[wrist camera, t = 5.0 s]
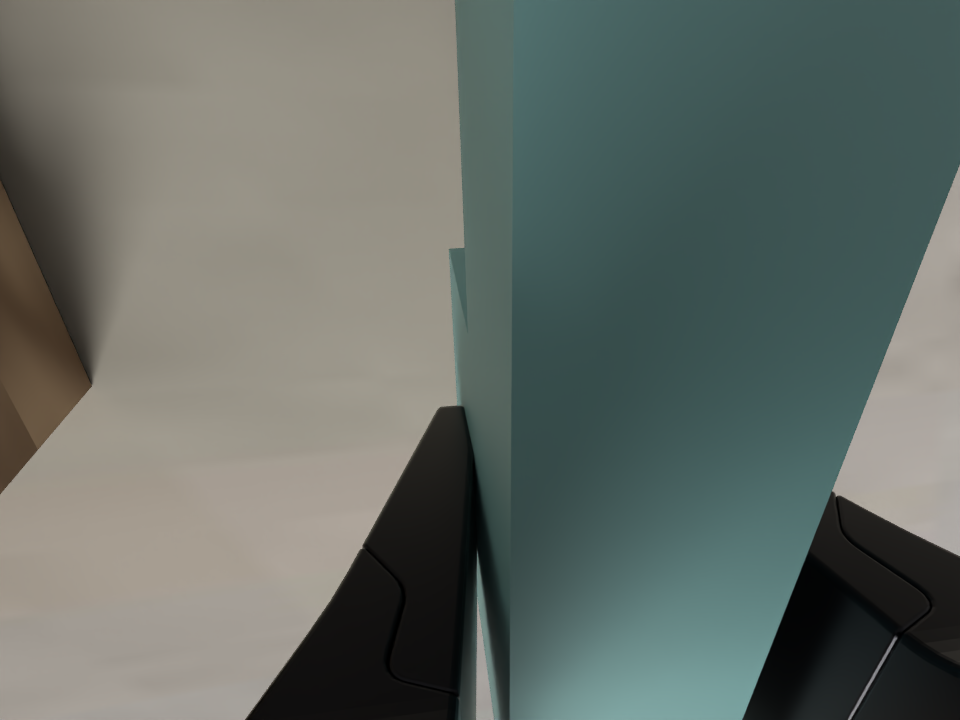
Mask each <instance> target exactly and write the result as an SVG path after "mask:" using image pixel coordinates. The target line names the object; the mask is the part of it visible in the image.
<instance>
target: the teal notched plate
mask: <svg viewBox="0 0 960 720" xmlns="http://www.w3.org/2000/svg"><path fill="white" fill-rule="evenodd" d="M455 10H456V36H457V62H458V88H459V114H460V139H461V165H462V191H463V217H464V243H465V248H456V249H449V259H450V278H451V297H452V315H453V334H454V353H455V372H456V390H457V406H458V405H461V406H463V407H464V410H465V415H466V419H467V424H468V429H469V433H470V438H471V443H472V448H473V454H474V477H475V504H476V531H477V597H478V605H479V612H480V619H481V627H482V634H483V641H484V648H485V656H486V663H487V670H488V678H489V685H490V692H491V700H492V707H493V714H494V720H742V719H743V716H744V714H745V711H746V709H747V706H748V704H749V701H750V699H751V696H752V693H753V691H754V688H755V686H756V683H757V681H758V678H759V676H760V673H761V670H762V668H763V665H764V663H765V660H766V658H767V655H768V653H769V650H770V647H771V645H772V642H773V640H774V637H775V635H776V632H777V630H778V627H779V624H780V622H781V619H782V617H783V614H784V612H785V609H786V607H787V604H788V602H789V599H790V596H791V594H792V591H793V589H794V586H795V584H796V581H797V579H798V576H799V573H800V571H801V568H802V566H803V563H804V561H805V558H806V556H807V553H808V550H809V548H810V545H811V543H812V540H813V538H814V535H815V533H816V530H817V527H818V525H819V522H820V520H821V517H822V515H823V512H824V510H825V507H826V504H827V502H828V499H829V497H830V494H831V492H832V489H833V487H834V484H835V481H836V479H837V476H838V474H839V471H840V469H841V466H842V464H843V461H844V459H845V456H846V453H847V451H848V448H849V446H850V443H851V441H852V438H853V436H854V433H855V430H856V428H857V425H858V423H859V420H860V418H861V415H862V413H863V410H864V407H865V405H866V402H867V400H868V397H869V395H870V392H871V390H872V387H873V384H874V382H875V379H876V377H877V374H878V372H879V369H880V367H881V364H882V361H883V359H884V356H885V354H886V351H887V349H888V346H889V344H890V341H891V338H892V336H893V333H894V331H895V328H896V326H897V323H898V321H899V318H900V316H901V313H902V310H903V308H904V305H905V303H906V300H907V298H908V295H909V293H910V290H911V287H912V285H913V282H914V280H915V277H916V275H917V272H918V270H919V267H920V264H921V262H922V259H923V257H924V254H925V252H926V249H927V247H928V244H929V241H930V239H931V236H932V234H933V231H934V229H935V226H936V224H937V221H938V218H939V216H940V213H941V211H942V208H943V206H944V203H945V201H946V198H947V196H948V193H949V190H950V188H951V185H952V183H953V180H954V178H955V175H956V173H957V170H958V167H959V165H960V0H455Z"/></svg>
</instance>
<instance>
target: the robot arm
mask: <svg viewBox="0 0 960 720" xmlns="http://www.w3.org/2000/svg"><path fill="white" fill-rule="evenodd" d="M476 652H477V531H476V504H475V477H474V454H473V448H472V443H471V438H470V433H469V429H468V424H467V419H466V415H465V410H464V407H463V406H461V405H458V406H446V407H440V408H439V409H438V410H437V411H436V413H435V415H434V417H433V419H432V421H431V422H430V424H429V426H428V428H427V430H426V431H425V433H424V435H423V437H422V439H421V440H420V442H419V444H418V446H417V448H416V450H415V451H414V453H413V455H412V457H411V459H410V460H409V462H408V464H407V466H406V468H405V469H404V471H403V473H402V475H401V477H400V479H399V480H398V482H397V484H396V486H395V488H394V489H393V491H392V493H391V495H390V497H389V499H388V500H387V502H386V504H385V506H384V508H383V509H382V511H381V513H380V515H379V517H378V518H377V520H376V522H375V524H374V526H373V528H372V529H371V531H370V533H369V535H368V537H367V538H366V540H365V542H364V544H363V549H361V550H360V551H359V552H358V554H357V556H356V558H355V560H354V562H353V563H352V565H351V567H350V569H349V571H348V572H347V574H346V576H345V577H344V579H343V581H342V582H341V584H340V586H339V587H338V589H337V591H336V592H335V594H334V596H333V597H332V599H331V601H330V602H329V604H328V605H327V606H326V608H325V609H324V611H323V612H322V614H321V615H320V617H319V618H318V619H317V621H316V622H315V624H314V625H313V627H312V628H311V630H310V631H309V633H308V634H307V635H306V637H305V638H304V640H303V641H302V642H301V644H300V645H299V646H298V648H297V649H296V650H295V652H294V653H293V655H292V656H291V657H290V659H289V660H288V661H287V663H286V664H285V666H284V667H283V668H282V670H281V671H280V672H279V674H278V675H277V677H276V678H275V679H274V681H273V682H272V683H271V685H270V686H269V688H268V689H267V690H266V692H265V693H264V694H263V696H262V697H261V699H260V700H259V701H258V703H257V704H256V705H255V707H254V708H253V709H252V711H251V712H250V714H249V715H248V716H247V718H246V719H245V720H476ZM742 720H960V556H958V555H956V554H954V553H952V552H950V551H948V550H945V549H943V548H941V547H939V546H937V545H935V544H933V543H931V542H929V541H927V540H925V539H923V538H921V537H919V536H916V535H914V534H912V533H910V532H908V531H906V530H904V529H902V528H900V527H898V526H897V525H895V524H893V523H891V522H889V521H887V520H885V519H883V518H881V517H879V516H877V515H876V514H874V513H872V512H870V511H868V510H866V509H864V508H862V507H860V506H859V505H857V504H855V503H853V502H851V501H849V500H848V499H846V498H844V497H842V496H837V497H836V495H835V493H834V492H833V491H832V492H831V494H830V497H829V499H828V502H827V504H826V507H825V510H824V512H823V515H822V517H821V520H820V522H819V525H818V527H817V530H816V533H815V535H814V538H813V540H812V543H811V545H810V548H809V550H808V553H807V556H806V558H805V561H804V563H803V566H802V568H801V571H800V573H799V576H798V579H797V581H796V584H795V586H794V589H793V591H792V594H791V596H790V599H789V602H788V604H787V607H786V609H785V612H784V614H783V617H782V619H781V622H780V624H779V627H778V630H777V632H776V635H775V637H774V640H773V642H772V645H771V647H770V650H769V653H768V655H767V658H766V660H765V663H764V665H763V668H762V670H761V673H760V676H759V678H758V681H757V683H756V686H755V688H754V691H753V693H752V696H751V699H750V701H749V704H748V706H747V709H746V711H745V714H744V716H743V719H742Z"/></svg>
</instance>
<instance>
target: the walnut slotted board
mask: <svg viewBox="0 0 960 720" xmlns="http://www.w3.org/2000/svg"><path fill="white" fill-rule="evenodd" d="M91 387H92V386H91V383H90V381H89V379H88V376H87V374H86V372H85V370H84V367H83V365H82V363H81V361H80V358H79V356H78V354H77V352H76V349H75V347H74V345H73V343H72V340H71V338H70V336H69V334H68V331H67V329H66V327H65V325H64V322H63V320H62V318H61V316H60V313H59V311H58V309H57V307H56V304H55V302H54V300H53V298H52V295H51V293H50V291H49V289H48V286H47V284H46V282H45V279H44V277H43V275H42V273H41V270H40V268H39V266H38V264H37V261H36V259H35V257H34V255H33V252H32V250H31V248H30V246H29V243H28V241H27V239H26V237H25V234H24V232H23V230H22V228H21V225H20V223H19V221H18V219H17V216H16V214H15V212H14V210H13V207H12V205H11V203H10V201H9V198H8V196H7V194H6V191H5V189H4V187H3V185H2V182H1V180H0V494H1V493H2V491H3V490H4V489H5V488H6V487H7V486H8V484H9V483H10V482H11V481H12V480H13V478H14V477H15V476H16V475H17V474H18V473H19V471H20V470H21V469H22V468H23V467H24V466H25V464H26V463H27V462H28V461H29V460H30V458H31V457H32V456H33V455H34V454H35V453H36V451H37V450H38V449H39V448H40V447H41V445H42V444H43V443H44V442H45V441H46V440H47V438H48V437H49V436H50V435H51V434H52V432H53V431H54V430H55V429H56V428H57V427H58V425H59V424H60V423H61V422H62V421H63V420H64V418H65V417H66V416H67V415H68V414H69V412H70V411H71V410H72V409H73V408H74V407H75V405H76V404H77V403H78V402H79V401H80V399H81V398H82V397H83V396H84V395H85V394H86V392H87V391H88V390H89V389H90V388H91Z"/></svg>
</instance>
